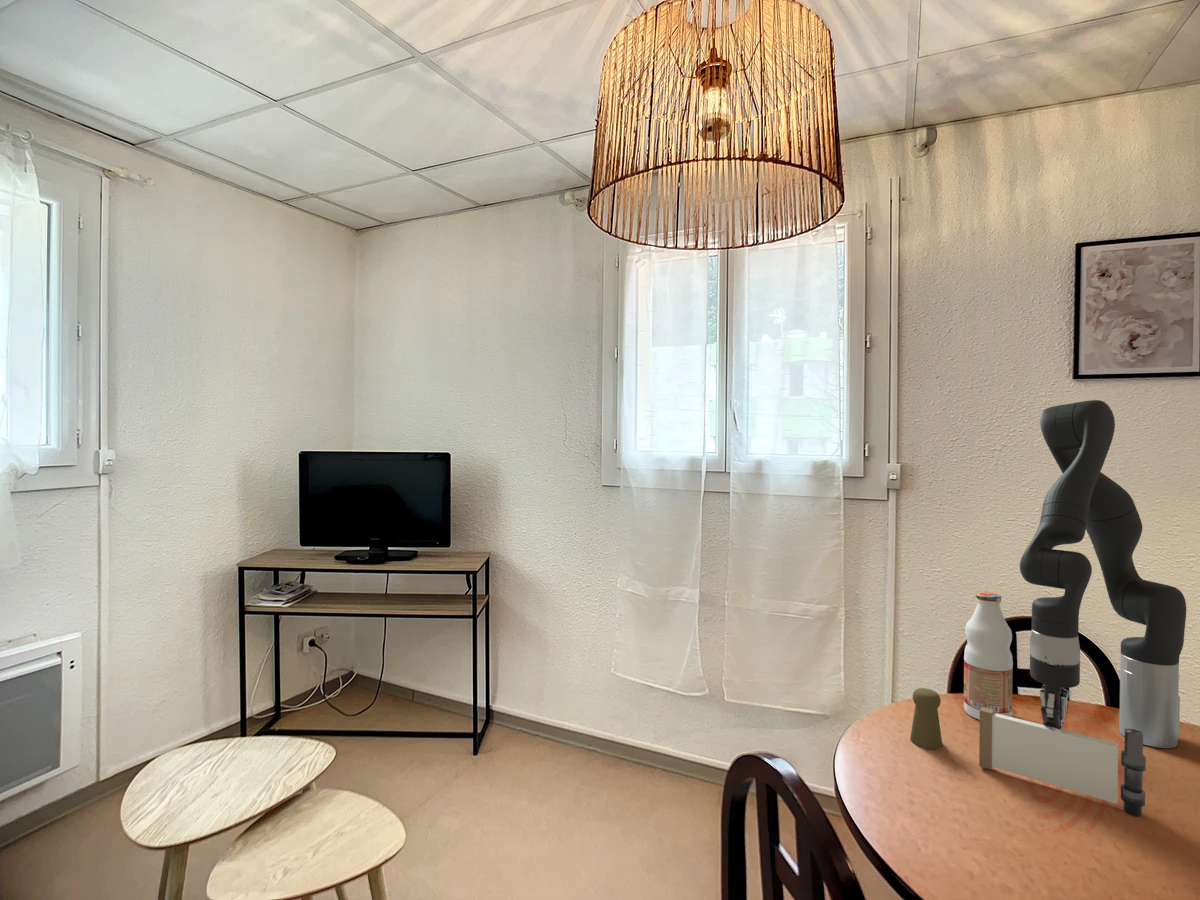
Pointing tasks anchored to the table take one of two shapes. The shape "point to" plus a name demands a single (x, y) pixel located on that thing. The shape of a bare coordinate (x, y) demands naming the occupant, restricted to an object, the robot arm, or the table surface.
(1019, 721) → the gate
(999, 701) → the fruit juice
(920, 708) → the olive green pawn
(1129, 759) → the gate post
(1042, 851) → the table surface
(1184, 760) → the table surface
